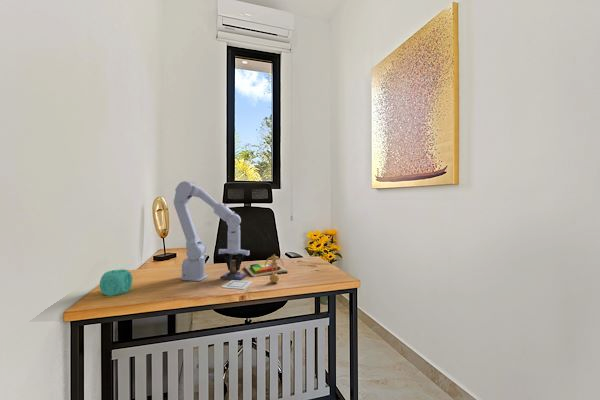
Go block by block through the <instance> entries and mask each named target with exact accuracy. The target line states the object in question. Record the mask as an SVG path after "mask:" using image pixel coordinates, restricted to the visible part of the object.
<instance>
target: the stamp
mask: <svg viewBox="0 0 600 400" xmlns="http://www.w3.org/2000/svg"><path fill="white" fill-rule="evenodd" d="M226 273H227V276H234V277H236V276H238V275H239V274H240V273H241V271H236V259H232V260H230V270H229V273H228V272H226Z"/></svg>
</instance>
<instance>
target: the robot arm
mask: <svg viewBox="0 0 600 400" xmlns="http://www.w3.org/2000/svg"><path fill="white" fill-rule="evenodd" d="M174 191H175V194H174V199H173V206H174V209H175V211H176V214H177V217H178V220H179V224H180V226H181V229H182V232H183V234H184V236H185V240H186V241H185V242H186V243H185V247H186V254H185V255H186V257H187V258H184V259H183V261H182V263H181V278H180V280H182V281H193V282H200V281H203V280H204V279H206V278H208V277H209V274H206V269H205V268H206V267H205V266H206V265H205V264H206V257H205V255H204V254H205V253H206V251H207V249H206V246H205V244H204V243H203V242H202V240H201V237H199V236H198V235H199V234H198V232H197V229H196V226H195V224H194V221H193V219H192V215H191V211H190V209H189V206H188V203H189V201H190V200H191V198H192V197H194V198H199V199H201V200H202V201H203V202H205V203H206V204H207V205H209V206H210V207H211V208H213V213H214V214H215V215H216V216H218V217H219V218H220V219H221V220H222V221H223V222H226V225H227V248H219V249H218V255H221V254H222V258H223V260H224V261H225V263H226V266H227V270H228V271H230V260H233V256H234V258H235V259H234V260H236V271H237V272H239V271H240V268H241V264H242V261H243V260H244V257H245V256H250V253H251V252H250V250H247V249H242V248H241V225H240V224H241V223H242V219H241V216H240V215H239V214H238V213H236V212H235V211H234V210H231V209H230V208H229V207H228V204H226V203H224V202H218V201H216V199H214V198H213V197H212V196H211V195H210V194H209V193H208V192H207V191H206V190H205V189H203V188H202V187H200V186H199V185H197V184H196V183H195V182H191V181H186V180H185V181H181V182H179V183H178V184H177V186H176V187H175V190H174Z"/></svg>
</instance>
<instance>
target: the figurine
mask: <svg viewBox="0 0 600 400" xmlns="http://www.w3.org/2000/svg"><path fill="white" fill-rule="evenodd" d="M269 260H271V261H272V262H273V263H271V267H272V274H271V275H269V280H270V282H271V283H272V284H276V283H277V282H279V280H280V276H279V274H278V273H276V270H277V264H278V262H277V260H280V262H281V264H282V267H283V266H284V262H283V260H282V258H280V257H279V256H276V254H273V255H271V256H270V257H268V258H267V259H266V261H265V262H266V263H267V262H269ZM265 262H264V263H265ZM266 263H265V266H266ZM274 265H275V267H276V269H275V274H274V273H273V267H274Z"/></svg>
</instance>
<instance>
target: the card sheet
mask: <svg viewBox="0 0 600 400" xmlns="http://www.w3.org/2000/svg"><path fill="white" fill-rule="evenodd" d="M253 282H254V281H252V280H241V281H240V280H230V281H228V282H227V283H225V284H224V285H222V286H221V288H223V289H235V290H246V289H247V287H249V286H250V285H251V284H253Z"/></svg>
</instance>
